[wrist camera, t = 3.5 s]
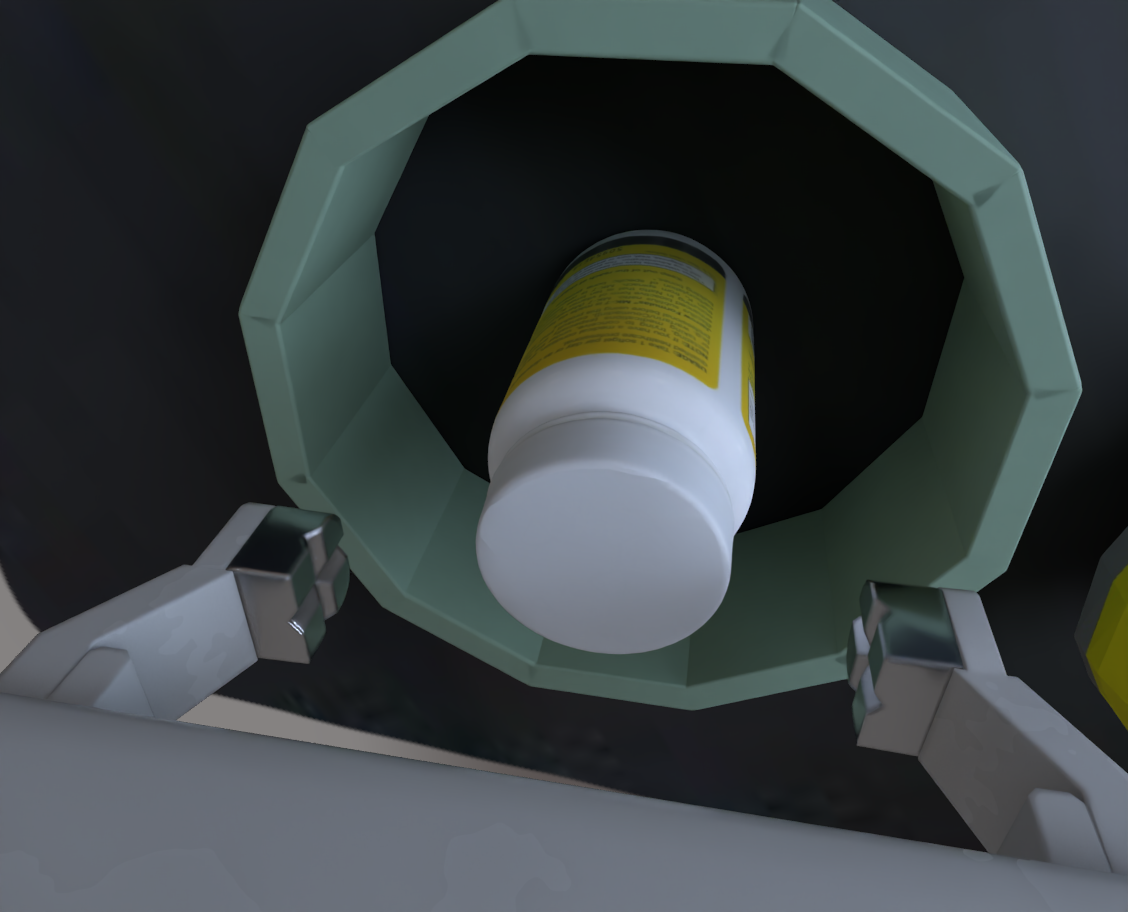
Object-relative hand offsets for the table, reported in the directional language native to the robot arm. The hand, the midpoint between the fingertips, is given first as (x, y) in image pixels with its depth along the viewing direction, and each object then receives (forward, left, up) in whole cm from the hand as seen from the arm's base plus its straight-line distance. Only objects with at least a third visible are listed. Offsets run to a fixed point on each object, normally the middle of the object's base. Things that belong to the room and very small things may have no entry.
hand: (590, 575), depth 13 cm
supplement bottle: (0, 0, -9) cm, 9 cm away
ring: (0, 0, -8) cm, 8 cm away
